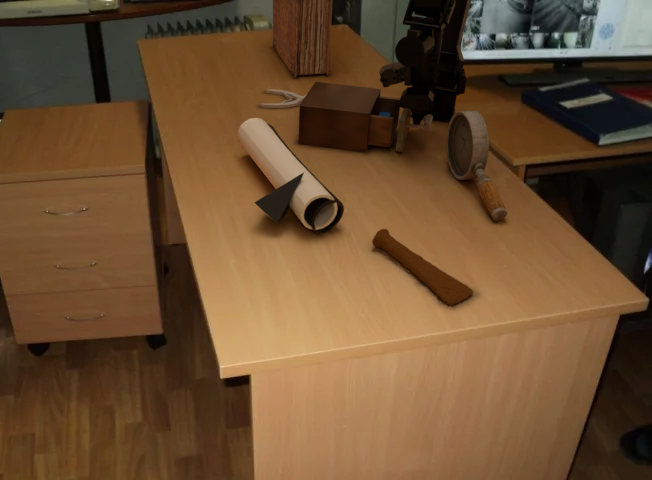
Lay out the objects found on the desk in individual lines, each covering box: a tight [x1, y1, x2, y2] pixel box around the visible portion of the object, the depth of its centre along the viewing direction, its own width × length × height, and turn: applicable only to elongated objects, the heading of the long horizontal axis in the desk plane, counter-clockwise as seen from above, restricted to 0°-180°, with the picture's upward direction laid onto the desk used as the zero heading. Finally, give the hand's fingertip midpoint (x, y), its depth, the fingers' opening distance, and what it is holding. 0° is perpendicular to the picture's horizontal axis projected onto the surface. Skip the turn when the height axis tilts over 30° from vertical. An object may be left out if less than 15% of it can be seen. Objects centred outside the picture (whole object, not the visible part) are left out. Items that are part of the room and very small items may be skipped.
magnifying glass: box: [445, 110, 508, 222], centre depth 137 cm, size 13×3×25 cm
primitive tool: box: [371, 228, 474, 306], centre depth 116 cm, size 19×6×4 cm, turn 39°
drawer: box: [368, 95, 434, 153], centre depth 154 cm, size 18×13×7 cm
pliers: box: [259, 88, 307, 109], centre depth 174 cm, size 10×2×15 cm
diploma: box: [237, 117, 345, 234], centre depth 135 cm, size 35×9×14 cm
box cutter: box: [379, 112, 391, 117], centre depth 155 cm, size 10×2×3 cm, turn 165°
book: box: [272, 0, 333, 79], centre depth 188 cm, size 25×9×30 cm, turn 13°
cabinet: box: [298, 81, 382, 153], centre depth 157 cm, size 15×14×9 cm
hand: (415, 126), depth 153 cm, fingers closed
